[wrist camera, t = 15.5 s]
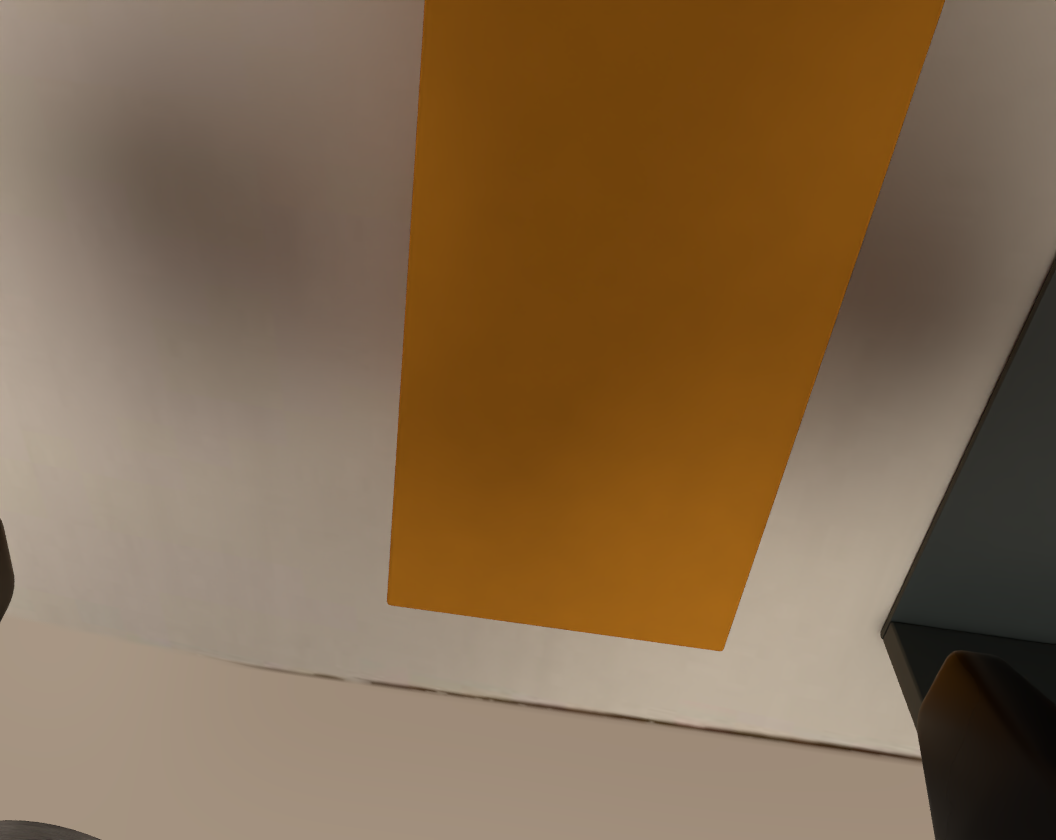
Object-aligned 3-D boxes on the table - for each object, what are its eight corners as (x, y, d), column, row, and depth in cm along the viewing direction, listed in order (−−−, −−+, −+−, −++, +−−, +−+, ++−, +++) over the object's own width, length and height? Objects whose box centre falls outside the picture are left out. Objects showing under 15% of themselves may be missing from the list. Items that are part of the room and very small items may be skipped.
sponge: (694, 475, 19) (723, 653, 15) (432, 438, 19) (386, 606, 15) (843, -62, 14) (956, -28, 9) (481, -116, 14) (430, -109, 9)
